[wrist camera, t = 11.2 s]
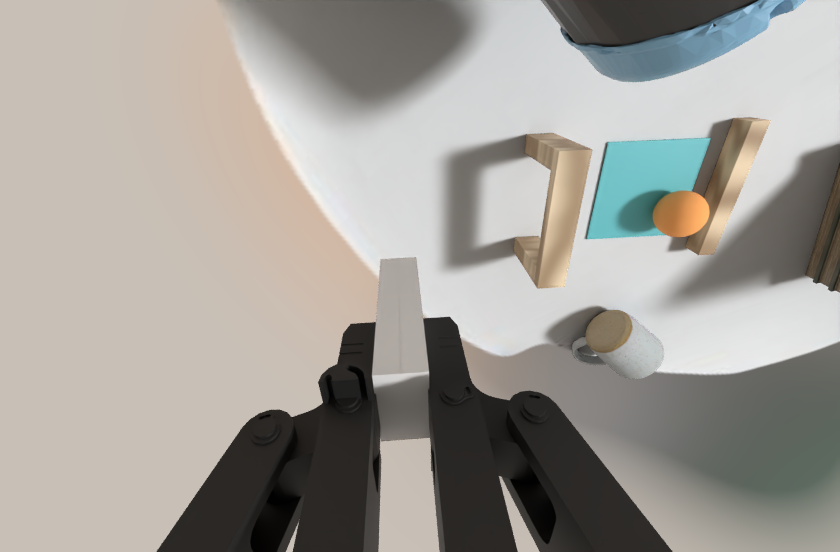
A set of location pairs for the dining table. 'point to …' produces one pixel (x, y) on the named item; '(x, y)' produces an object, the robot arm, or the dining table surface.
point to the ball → (681, 213)
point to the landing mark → (642, 183)
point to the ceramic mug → (620, 345)
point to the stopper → (728, 180)
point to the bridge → (555, 208)
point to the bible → (828, 244)
